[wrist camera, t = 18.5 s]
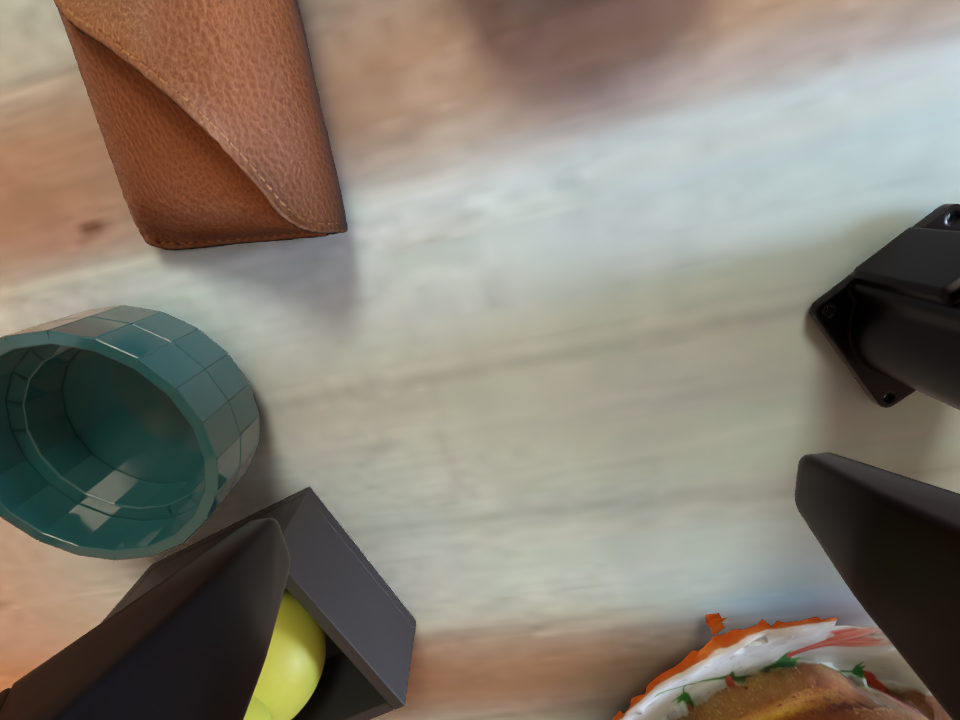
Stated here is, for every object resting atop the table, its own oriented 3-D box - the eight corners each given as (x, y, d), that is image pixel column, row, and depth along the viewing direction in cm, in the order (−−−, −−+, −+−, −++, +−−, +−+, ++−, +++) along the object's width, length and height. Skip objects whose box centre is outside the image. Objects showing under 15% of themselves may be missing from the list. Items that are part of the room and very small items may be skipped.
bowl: (230, 287, 20) (163, 314, 16) (290, 480, 23) (249, 545, 19) (12, 317, 20) (-111, 351, 16) (103, 502, 23) (20, 572, 19)
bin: (309, 485, 23) (271, 553, 19) (416, 621, 26) (405, 706, 22) (150, 565, 25) (81, 644, 20) (269, 683, 28) (231, 774, 24)
